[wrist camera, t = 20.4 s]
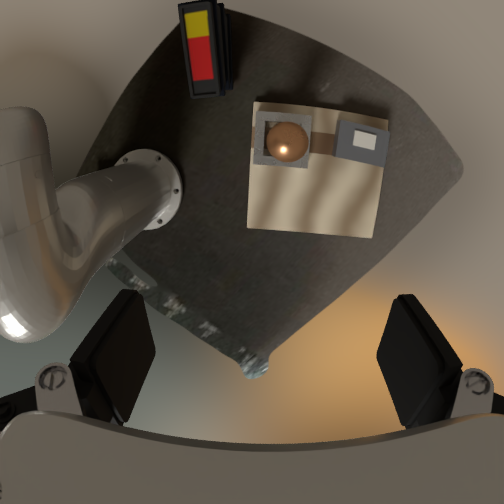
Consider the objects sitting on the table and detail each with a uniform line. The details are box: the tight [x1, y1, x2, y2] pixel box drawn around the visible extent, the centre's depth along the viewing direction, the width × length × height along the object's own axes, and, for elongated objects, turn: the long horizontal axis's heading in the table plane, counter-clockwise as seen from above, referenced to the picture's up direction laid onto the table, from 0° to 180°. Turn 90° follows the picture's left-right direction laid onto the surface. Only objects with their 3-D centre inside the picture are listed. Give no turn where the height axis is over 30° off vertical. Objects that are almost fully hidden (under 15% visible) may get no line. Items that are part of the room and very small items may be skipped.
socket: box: [253, 111, 312, 169], centre depth 35 cm, size 7×7×2 cm
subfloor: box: [247, 102, 388, 238], centre depth 38 cm, size 19×18×1 cm
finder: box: [332, 120, 390, 168], centre depth 34 cm, size 7×5×3 cm
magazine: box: [178, 0, 233, 99], centre depth 27 cm, size 4×13×15 cm, turn 2°
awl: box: [267, 122, 309, 162], centre depth 30 cm, size 4×4×13 cm
